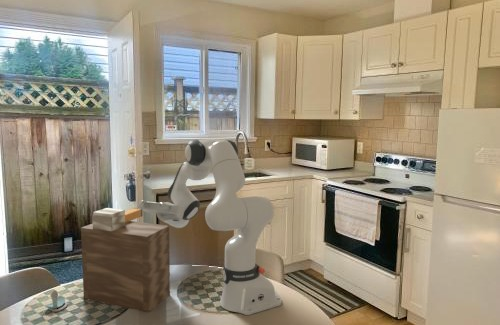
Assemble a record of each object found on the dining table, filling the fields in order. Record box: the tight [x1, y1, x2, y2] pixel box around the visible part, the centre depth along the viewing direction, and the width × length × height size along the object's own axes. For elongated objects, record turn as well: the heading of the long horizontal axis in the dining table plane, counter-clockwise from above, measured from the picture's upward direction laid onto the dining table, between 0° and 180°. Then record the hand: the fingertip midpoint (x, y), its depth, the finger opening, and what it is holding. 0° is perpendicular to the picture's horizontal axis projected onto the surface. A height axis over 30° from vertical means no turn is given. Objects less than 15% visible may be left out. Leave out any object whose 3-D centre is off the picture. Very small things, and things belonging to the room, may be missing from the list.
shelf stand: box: [80, 207, 171, 313], centre depth 141 cm, size 14×28×33 cm, turn 71°
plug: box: [125, 207, 144, 223], centre depth 147 cm, size 18×4×3 cm, turn 161°
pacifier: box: [45, 290, 69, 312], centre depth 134 cm, size 7×6×6 cm
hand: (151, 203), depth 164 cm, fingers open, 8 cm apart
